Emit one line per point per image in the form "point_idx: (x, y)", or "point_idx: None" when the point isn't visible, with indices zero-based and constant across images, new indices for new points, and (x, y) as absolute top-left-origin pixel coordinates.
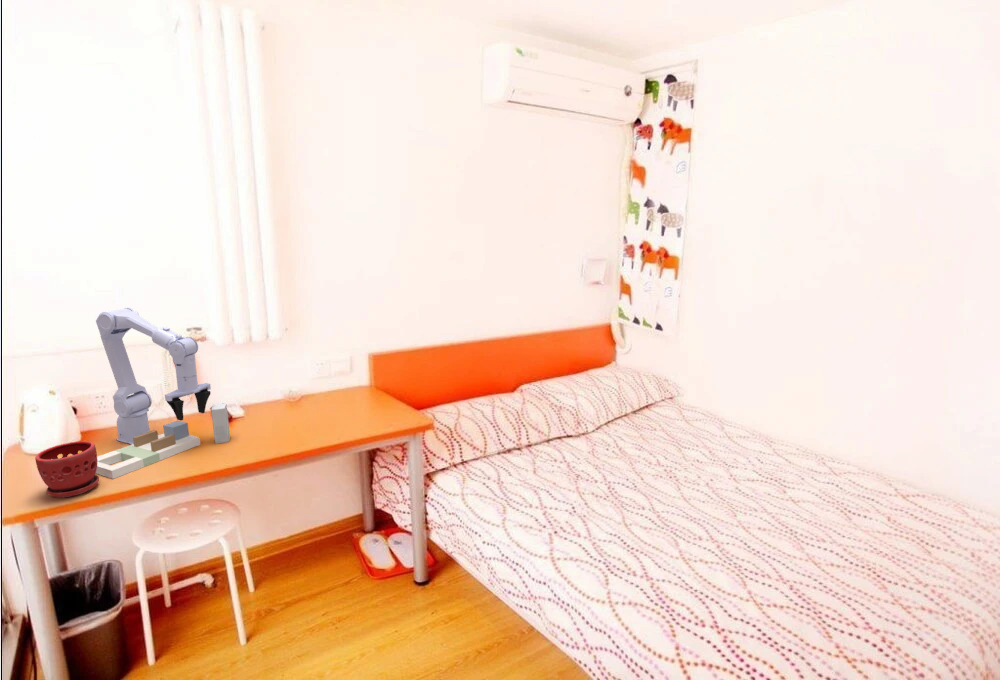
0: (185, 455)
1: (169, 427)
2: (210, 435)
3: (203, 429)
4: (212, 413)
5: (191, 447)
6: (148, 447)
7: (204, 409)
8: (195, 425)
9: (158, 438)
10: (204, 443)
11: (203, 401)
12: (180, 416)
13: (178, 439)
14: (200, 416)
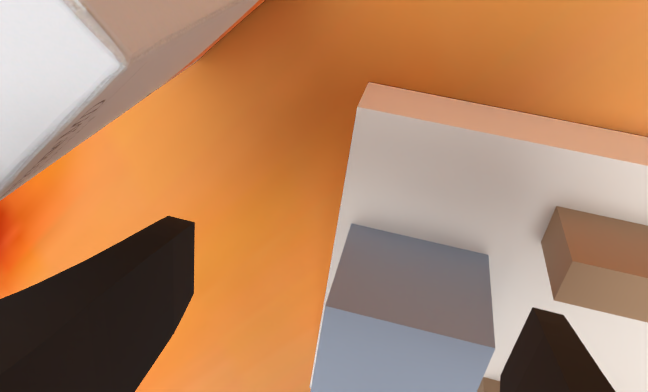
0: (639, 23)
1: (475, 386)
2: (188, 143)
3: None
4: (156, 29)
5: (457, 102)
6: None
7: (143, 238)
8: None
9: None
10: (335, 67)
11: (56, 341)
12: (596, 370)
13: (455, 247)
14: None
